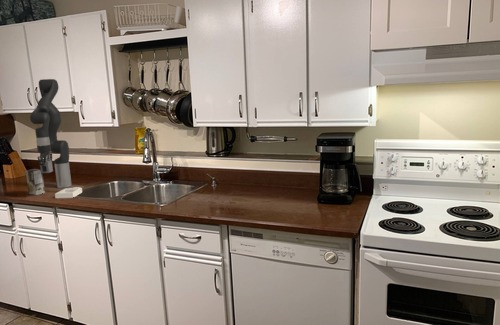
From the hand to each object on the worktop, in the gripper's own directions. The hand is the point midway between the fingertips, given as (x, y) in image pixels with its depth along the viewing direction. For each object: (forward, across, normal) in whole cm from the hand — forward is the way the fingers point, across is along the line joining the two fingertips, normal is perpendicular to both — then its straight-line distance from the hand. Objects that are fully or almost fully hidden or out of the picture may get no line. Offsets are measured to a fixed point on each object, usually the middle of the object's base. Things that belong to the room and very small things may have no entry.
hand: (46, 170), depth 239 cm
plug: (+1, 0, 0) cm, 1 cm away
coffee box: (+17, -9, -13) cm, 23 cm away
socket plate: (+17, -1, +12) cm, 21 cm away
